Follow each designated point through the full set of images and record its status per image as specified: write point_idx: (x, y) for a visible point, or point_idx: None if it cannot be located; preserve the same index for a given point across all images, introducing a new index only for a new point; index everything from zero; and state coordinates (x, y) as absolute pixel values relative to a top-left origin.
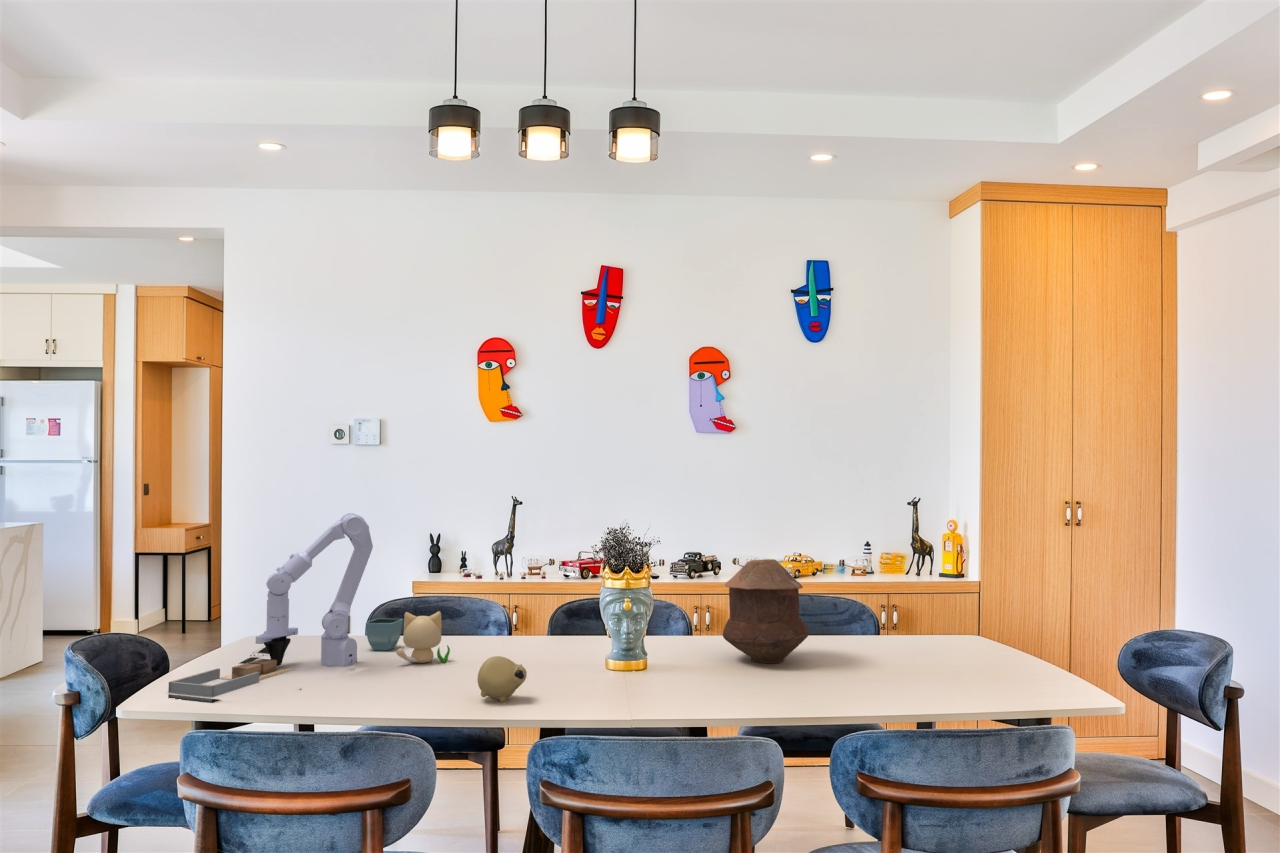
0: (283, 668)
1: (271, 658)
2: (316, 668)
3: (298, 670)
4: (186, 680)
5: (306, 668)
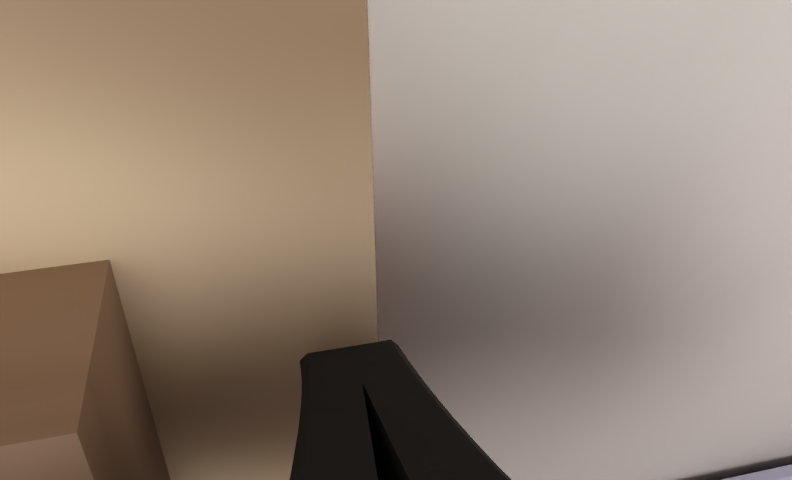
0: None
1: (305, 464)
2: (699, 457)
3: (575, 389)
4: None
5: (688, 383)
